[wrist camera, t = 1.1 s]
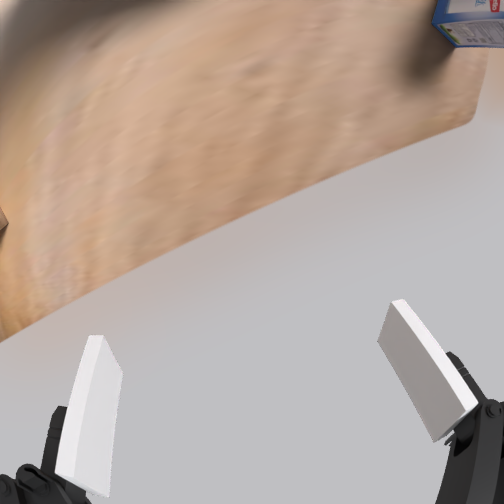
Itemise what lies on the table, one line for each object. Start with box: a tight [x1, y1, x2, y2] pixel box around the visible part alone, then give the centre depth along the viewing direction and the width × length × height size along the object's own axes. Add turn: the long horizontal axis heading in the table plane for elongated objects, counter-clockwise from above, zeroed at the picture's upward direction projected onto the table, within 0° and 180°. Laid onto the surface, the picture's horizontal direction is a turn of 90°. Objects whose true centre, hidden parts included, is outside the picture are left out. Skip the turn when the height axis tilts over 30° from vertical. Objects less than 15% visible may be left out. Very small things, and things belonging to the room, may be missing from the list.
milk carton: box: [431, 0, 504, 48], centre depth 16 cm, size 10×6×20 cm, turn 158°
